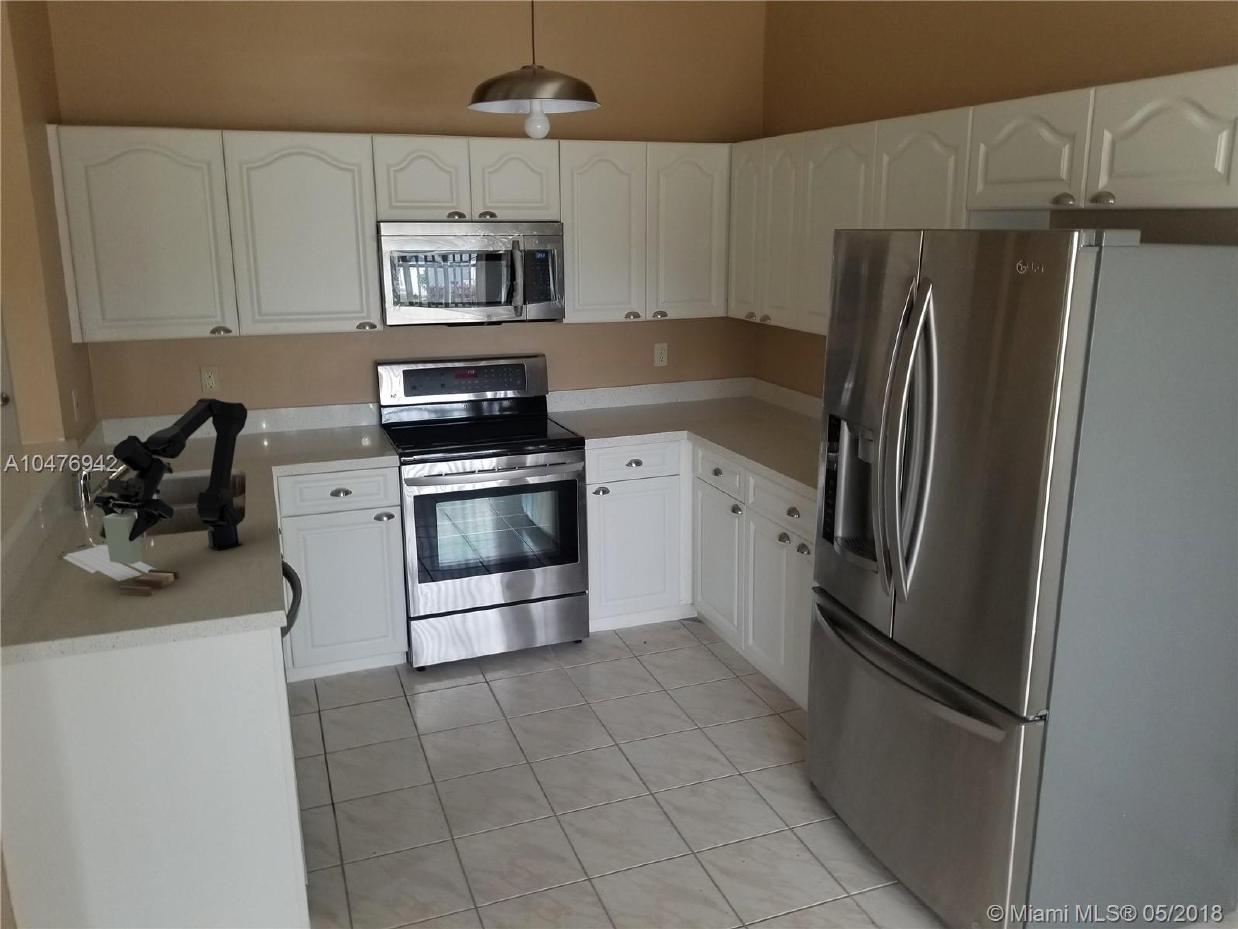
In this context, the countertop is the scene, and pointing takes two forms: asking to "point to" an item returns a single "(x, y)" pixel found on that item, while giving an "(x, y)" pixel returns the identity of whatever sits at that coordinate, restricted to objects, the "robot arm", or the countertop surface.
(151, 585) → the rack
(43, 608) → the countertop surface
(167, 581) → the offcut low
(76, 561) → the baseboard
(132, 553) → the pale green block
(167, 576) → the offcut top
